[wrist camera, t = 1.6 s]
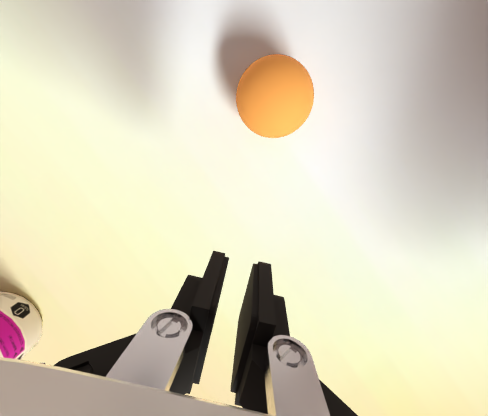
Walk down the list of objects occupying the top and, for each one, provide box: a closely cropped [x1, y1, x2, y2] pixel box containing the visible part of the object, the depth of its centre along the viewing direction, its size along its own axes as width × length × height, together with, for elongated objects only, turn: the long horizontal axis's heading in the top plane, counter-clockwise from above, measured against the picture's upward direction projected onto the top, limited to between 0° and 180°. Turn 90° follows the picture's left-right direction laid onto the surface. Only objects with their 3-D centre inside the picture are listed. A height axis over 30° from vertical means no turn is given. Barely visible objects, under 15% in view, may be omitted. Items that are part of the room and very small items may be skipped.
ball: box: [236, 54, 314, 138], centre depth 21 cm, size 6×6×6 cm
